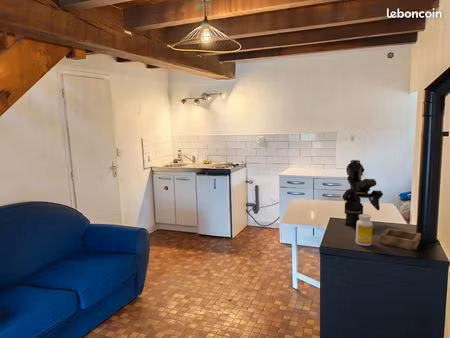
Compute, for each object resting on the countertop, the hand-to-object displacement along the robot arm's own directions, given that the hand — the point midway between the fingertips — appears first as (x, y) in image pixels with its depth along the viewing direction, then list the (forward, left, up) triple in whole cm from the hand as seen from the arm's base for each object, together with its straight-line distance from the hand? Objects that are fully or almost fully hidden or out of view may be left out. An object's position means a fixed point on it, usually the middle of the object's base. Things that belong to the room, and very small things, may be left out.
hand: (370, 209), depth 160 cm
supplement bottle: (0, -8, -14) cm, 16 cm away
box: (+13, +3, -14) cm, 19 cm away
